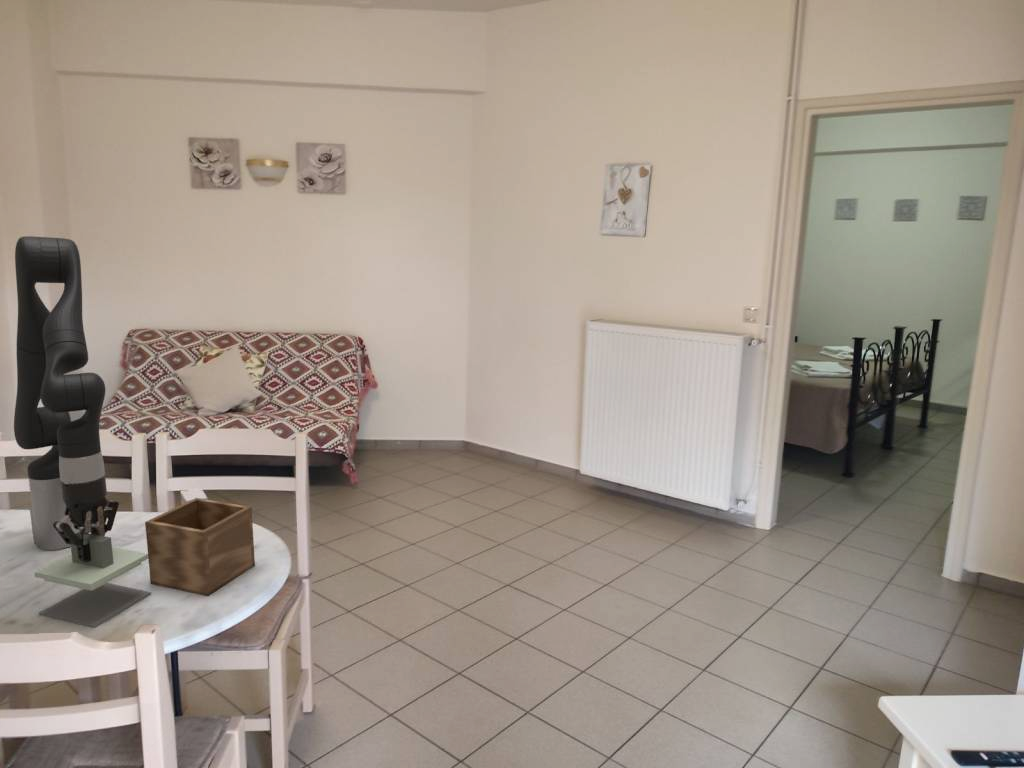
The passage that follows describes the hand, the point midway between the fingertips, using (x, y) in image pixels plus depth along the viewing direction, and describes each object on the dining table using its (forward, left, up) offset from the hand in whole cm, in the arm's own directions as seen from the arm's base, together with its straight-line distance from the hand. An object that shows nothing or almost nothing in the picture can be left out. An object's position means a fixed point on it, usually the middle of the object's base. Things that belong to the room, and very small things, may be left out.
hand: (91, 557), depth 148 cm
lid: (0, 0, -3) cm, 3 cm away
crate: (+11, +18, -10) cm, 23 cm away
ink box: (-3, +32, -10) cm, 34 cm away
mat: (0, 0, -10) cm, 10 cm away
